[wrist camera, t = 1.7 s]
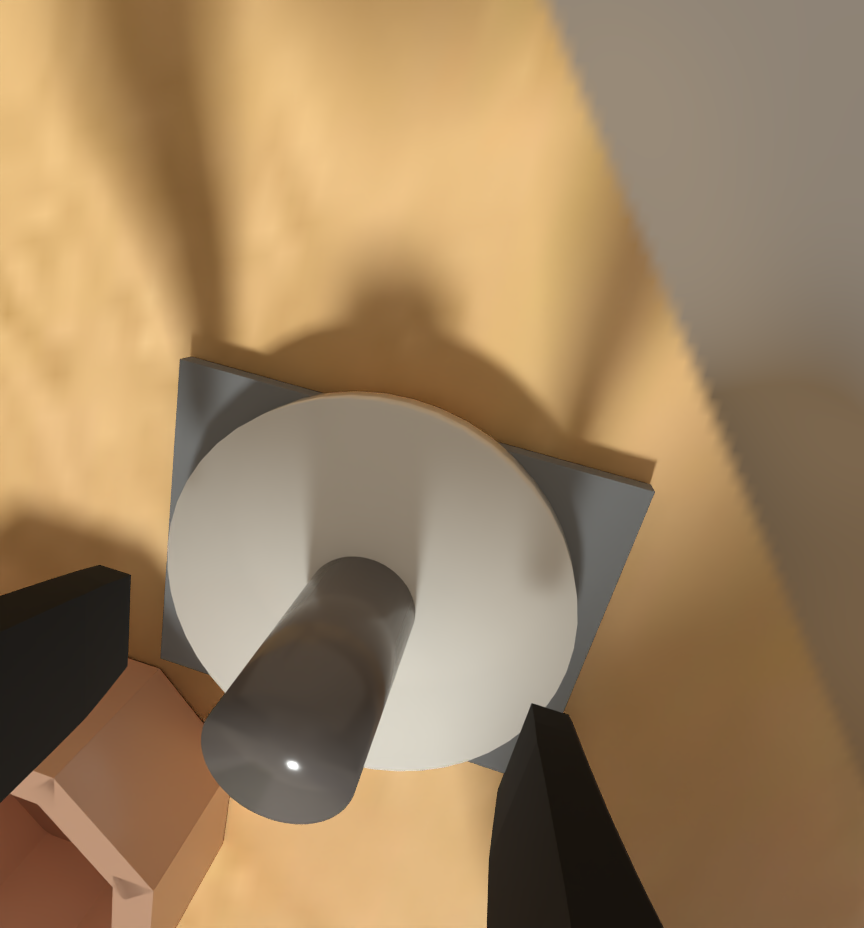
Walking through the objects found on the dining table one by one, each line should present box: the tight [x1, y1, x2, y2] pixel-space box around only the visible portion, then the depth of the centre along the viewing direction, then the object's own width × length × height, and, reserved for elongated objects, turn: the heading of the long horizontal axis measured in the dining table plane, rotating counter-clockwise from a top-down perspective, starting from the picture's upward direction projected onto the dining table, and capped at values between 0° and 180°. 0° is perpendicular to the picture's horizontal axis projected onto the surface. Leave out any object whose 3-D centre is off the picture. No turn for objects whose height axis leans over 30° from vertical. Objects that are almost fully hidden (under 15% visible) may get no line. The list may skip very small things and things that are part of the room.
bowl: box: [0, 658, 229, 928], centre depth 15 cm, size 8×8×4 cm
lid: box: [168, 391, 577, 824], centre depth 10 cm, size 9×9×5 cm
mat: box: [161, 357, 655, 773], centre depth 12 cm, size 10×8×1 cm
